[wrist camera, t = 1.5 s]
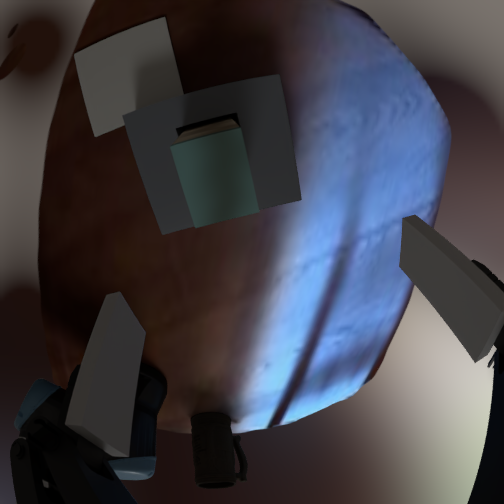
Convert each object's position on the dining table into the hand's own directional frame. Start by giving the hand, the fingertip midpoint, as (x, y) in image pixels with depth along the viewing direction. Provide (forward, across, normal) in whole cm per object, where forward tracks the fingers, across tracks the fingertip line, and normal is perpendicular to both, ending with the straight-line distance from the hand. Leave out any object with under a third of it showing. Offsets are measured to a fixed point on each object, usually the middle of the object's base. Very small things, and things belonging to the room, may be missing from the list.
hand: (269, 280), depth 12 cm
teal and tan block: (+25, -2, +2) cm, 25 cm away
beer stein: (+25, -21, -63) cm, 71 cm away
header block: (+25, -2, +2) cm, 25 cm away
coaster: (+25, -10, +14) cm, 30 cm away
